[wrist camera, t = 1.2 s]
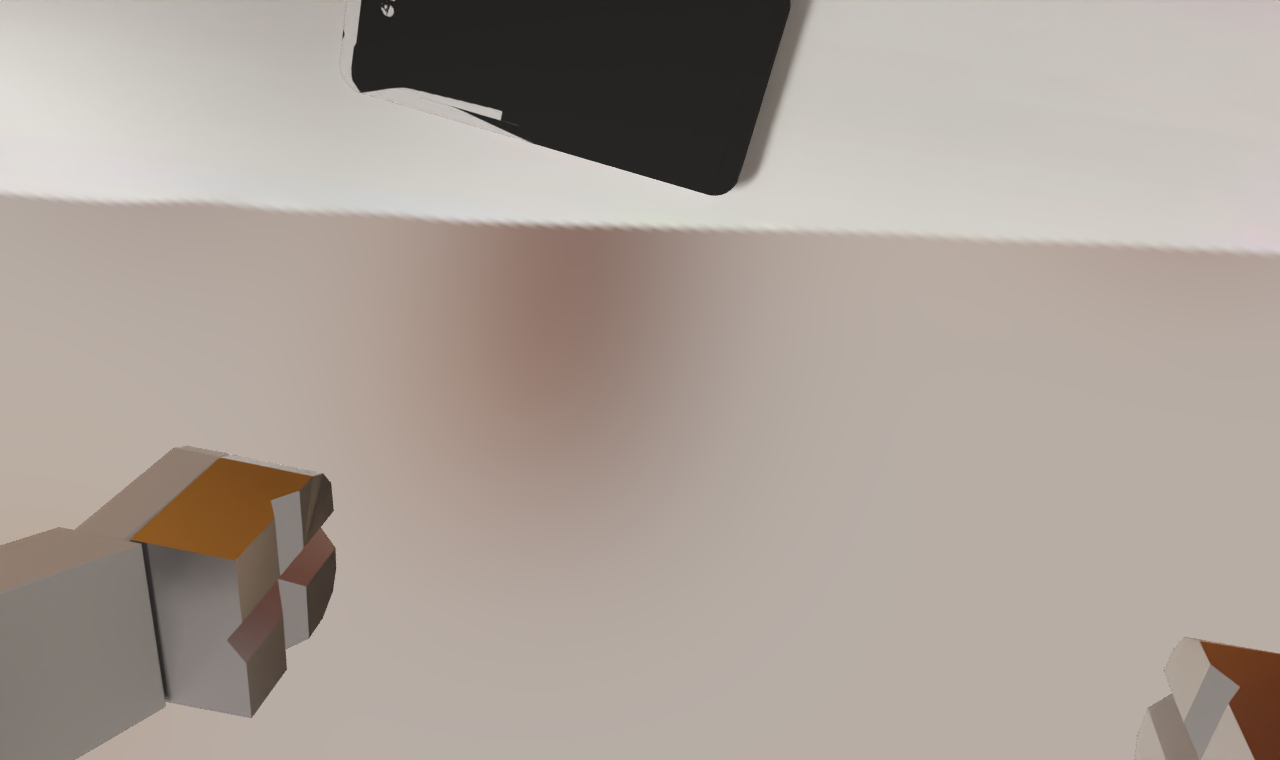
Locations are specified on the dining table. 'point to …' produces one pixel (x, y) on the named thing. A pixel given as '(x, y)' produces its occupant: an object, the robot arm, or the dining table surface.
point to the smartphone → (581, 74)
